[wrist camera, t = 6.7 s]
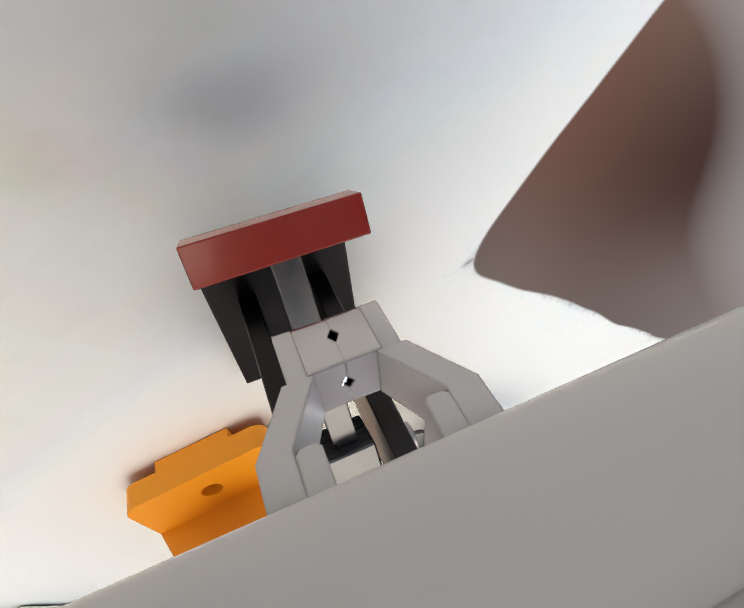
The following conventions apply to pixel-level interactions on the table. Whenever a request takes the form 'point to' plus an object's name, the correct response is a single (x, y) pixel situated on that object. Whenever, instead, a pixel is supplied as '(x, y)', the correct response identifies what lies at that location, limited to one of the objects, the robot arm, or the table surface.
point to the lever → (292, 289)
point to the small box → (41, 607)
